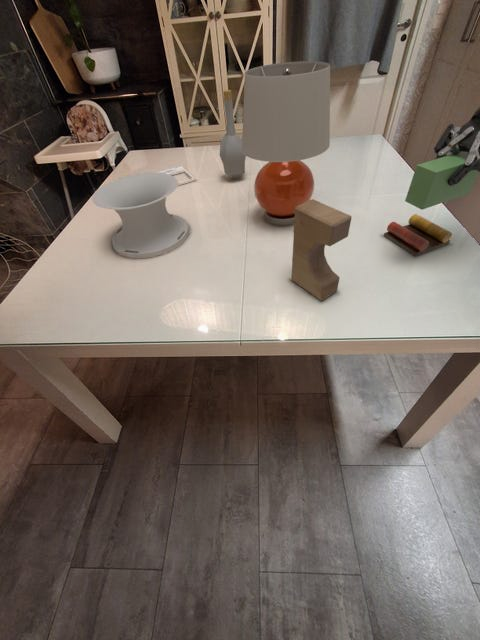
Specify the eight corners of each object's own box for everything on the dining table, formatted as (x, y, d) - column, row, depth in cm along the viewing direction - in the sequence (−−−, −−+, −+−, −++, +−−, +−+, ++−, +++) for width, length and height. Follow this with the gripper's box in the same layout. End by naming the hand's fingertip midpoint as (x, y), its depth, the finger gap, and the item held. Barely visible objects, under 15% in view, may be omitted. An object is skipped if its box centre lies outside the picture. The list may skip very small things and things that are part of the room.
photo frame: (181, 165, 138) (194, 177, 127) (181, 168, 139) (195, 180, 128) (151, 173, 135) (162, 186, 123) (151, 176, 136) (162, 189, 124)
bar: (468, 193, 69) (486, 156, 63) (421, 209, 66) (436, 172, 60) (450, 185, 72) (465, 149, 66) (404, 201, 69) (416, 164, 63)
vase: (121, 222, 107) (103, 177, 96) (189, 213, 107) (179, 168, 96) (106, 262, 90) (81, 214, 79) (187, 252, 90) (175, 203, 79)
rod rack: (449, 243, 82) (455, 230, 80) (415, 256, 80) (420, 243, 77) (415, 224, 90) (419, 212, 87) (383, 236, 88) (387, 223, 85)
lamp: (286, 193, 112) (290, 58, 84) (336, 216, 98) (362, 61, 69) (232, 216, 103) (217, 73, 75) (279, 245, 89) (282, 81, 61)
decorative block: (337, 292, 73) (353, 215, 58) (320, 302, 71) (332, 226, 56) (306, 271, 80) (313, 197, 65) (290, 279, 78) (293, 206, 63)
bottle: (235, 171, 131) (227, 86, 109) (254, 177, 125) (249, 88, 103) (216, 180, 126) (204, 93, 104) (235, 186, 120) (226, 95, 98)
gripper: (472, 83, 61) (407, 159, 67) (547, 93, 52) (464, 181, 58) (479, 108, 66) (417, 177, 72) (548, 122, 57) (471, 200, 63)
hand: (438, 178), depth 65 cm, fingers closed on bar, 5 cm apart
